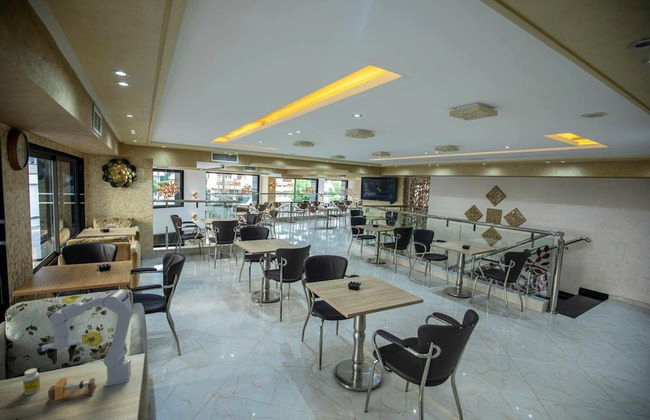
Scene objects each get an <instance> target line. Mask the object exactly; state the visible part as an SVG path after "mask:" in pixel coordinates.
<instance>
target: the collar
mask: <svg viewBox="0 0 650 420" xmlns="http://www.w3.org/2000/svg"><path fill="white" fill-rule="evenodd" d="M67 384H68V379H67V377H62V378H59V379H58V381H57V383H56V384H55V385H56V386H55V387H54V391H55V400H59V399H62V398H63V396H64V395H65V393H66V391H63V386H64V385H67Z"/></svg>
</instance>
